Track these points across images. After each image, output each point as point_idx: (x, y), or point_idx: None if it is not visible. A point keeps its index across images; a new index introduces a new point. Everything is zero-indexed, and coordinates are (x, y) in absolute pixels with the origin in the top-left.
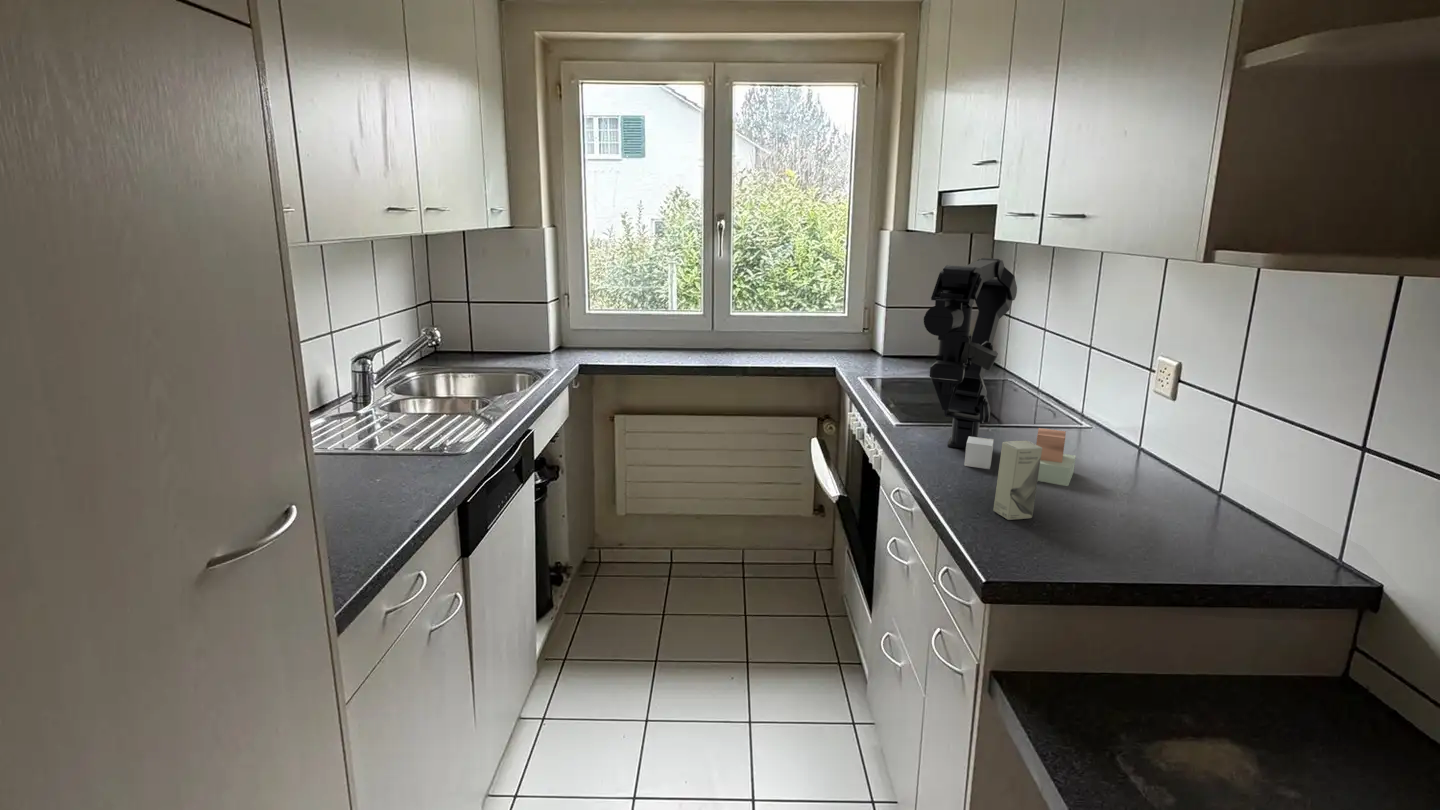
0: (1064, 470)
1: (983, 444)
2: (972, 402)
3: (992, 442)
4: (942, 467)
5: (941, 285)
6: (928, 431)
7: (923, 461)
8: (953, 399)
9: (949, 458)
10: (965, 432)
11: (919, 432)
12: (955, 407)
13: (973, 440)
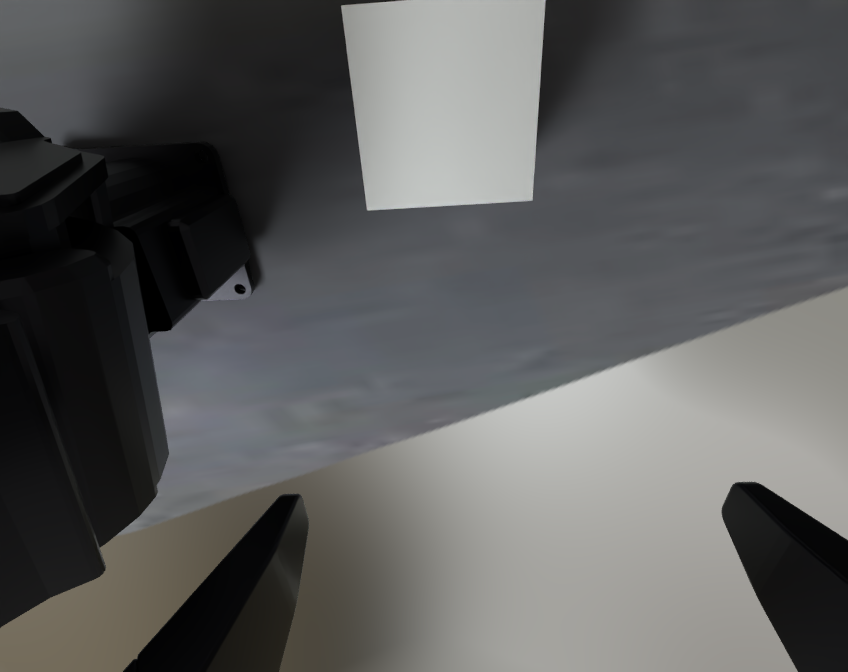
0: None
1: (527, 73)
2: (93, 320)
3: (441, 3)
4: (573, 261)
5: None
6: None
7: (518, 342)
8: (131, 472)
9: (424, 255)
10: (205, 245)
11: None
12: (160, 405)
13: (455, 163)
